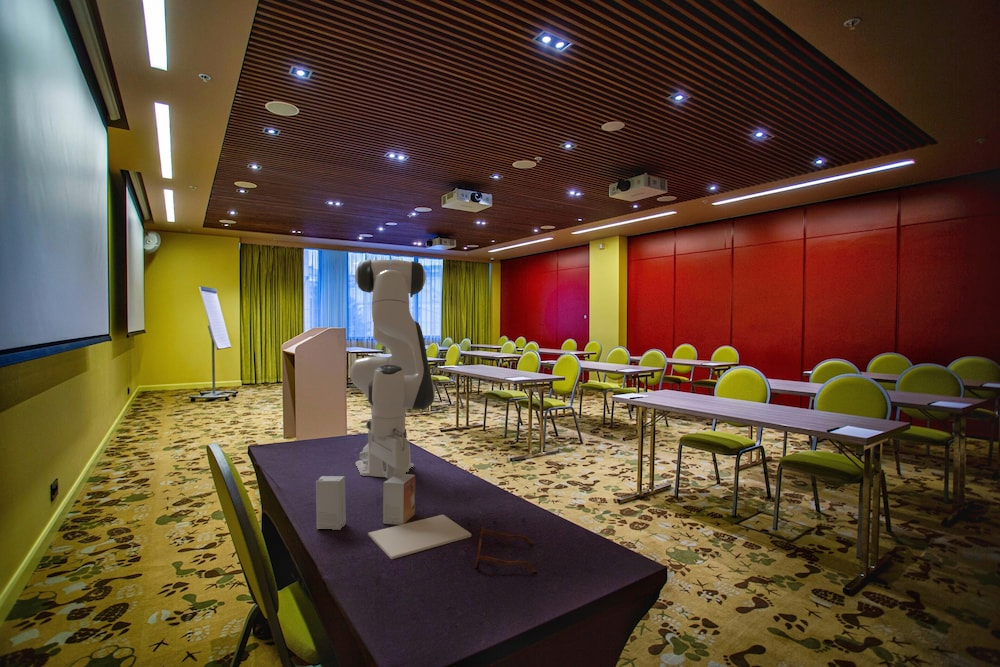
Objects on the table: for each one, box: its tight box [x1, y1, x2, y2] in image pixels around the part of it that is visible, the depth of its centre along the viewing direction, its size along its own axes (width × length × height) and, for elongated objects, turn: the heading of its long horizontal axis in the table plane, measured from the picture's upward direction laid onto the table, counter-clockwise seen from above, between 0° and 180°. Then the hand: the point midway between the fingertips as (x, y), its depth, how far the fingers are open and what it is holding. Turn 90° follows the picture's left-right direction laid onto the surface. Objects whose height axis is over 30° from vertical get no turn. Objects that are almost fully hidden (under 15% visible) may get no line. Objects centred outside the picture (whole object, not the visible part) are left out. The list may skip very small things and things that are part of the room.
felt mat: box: [367, 514, 472, 560], centre depth 112 cm, size 14×20×1 cm
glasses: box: [474, 525, 537, 572], centre depth 103 cm, size 13×13×5 cm
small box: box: [382, 473, 416, 526], centre depth 122 cm, size 8×6×10 cm
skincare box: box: [315, 475, 347, 531], centre depth 116 cm, size 6×4×12 cm
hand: (387, 477), depth 128 cm, fingers closed
